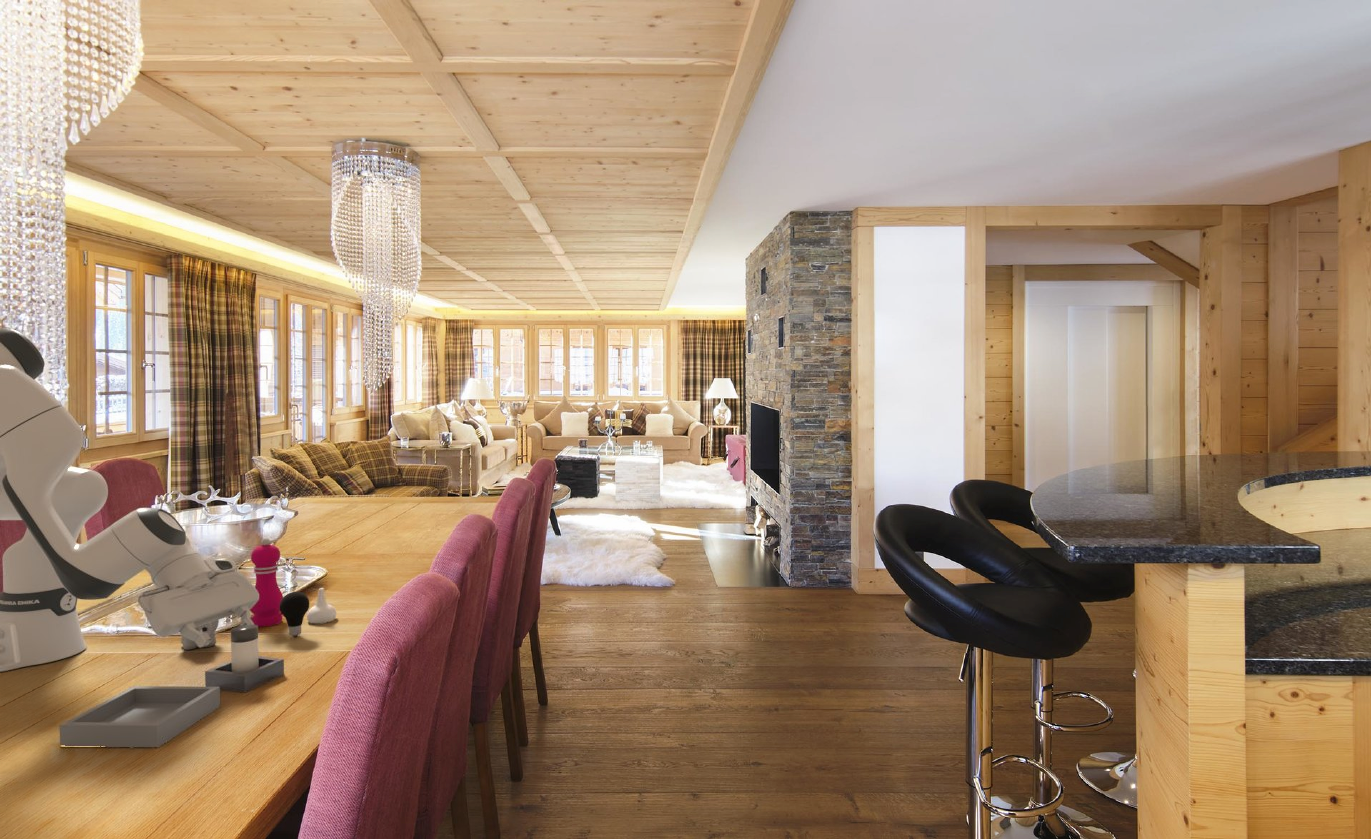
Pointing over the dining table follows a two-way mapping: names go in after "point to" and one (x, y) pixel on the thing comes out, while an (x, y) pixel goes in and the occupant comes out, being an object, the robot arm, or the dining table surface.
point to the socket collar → (244, 675)
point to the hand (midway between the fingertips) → (228, 636)
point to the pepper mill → (266, 585)
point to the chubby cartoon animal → (205, 628)
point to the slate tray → (140, 717)
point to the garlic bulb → (321, 610)
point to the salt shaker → (244, 648)
